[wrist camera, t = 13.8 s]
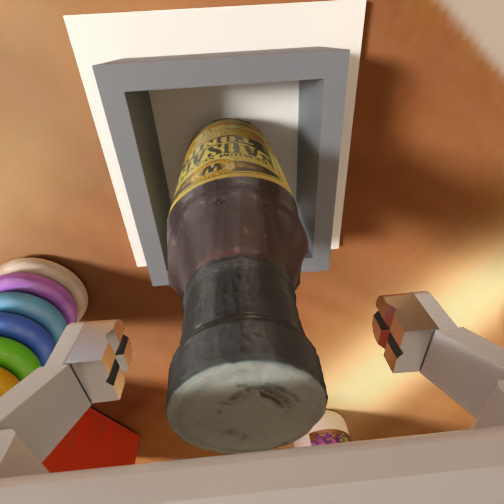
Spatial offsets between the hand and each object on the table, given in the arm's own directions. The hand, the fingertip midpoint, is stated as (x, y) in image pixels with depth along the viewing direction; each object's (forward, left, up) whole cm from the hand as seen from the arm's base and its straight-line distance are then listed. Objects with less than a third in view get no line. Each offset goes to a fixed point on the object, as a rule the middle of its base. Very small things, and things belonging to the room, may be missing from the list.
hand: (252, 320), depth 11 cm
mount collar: (0, 0, -17) cm, 17 cm away
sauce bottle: (0, 0, -17) cm, 17 cm away
